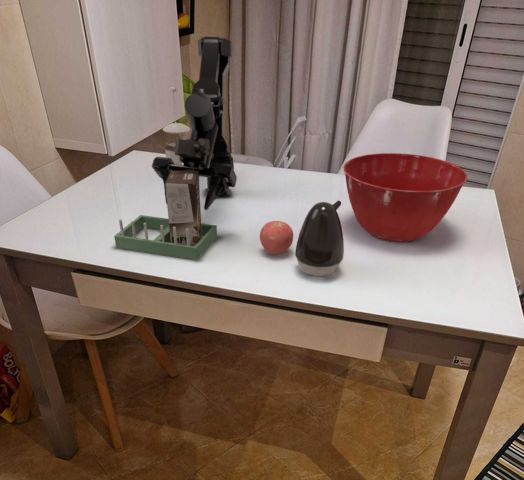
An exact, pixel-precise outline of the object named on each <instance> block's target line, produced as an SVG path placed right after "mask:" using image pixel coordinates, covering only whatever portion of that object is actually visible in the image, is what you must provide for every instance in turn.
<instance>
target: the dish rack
mask: <svg viewBox="0 0 524 480" xmlns="http://www.w3.org/2000/svg"><path fill="white" fill-rule="evenodd" d="M118 223H119V230H120V231H119V232H117V233H115V235H114V236H113V238H114V243H115V249H119V250H120V249H121V250H127V251H134V252H141V253H148V254H153V255H160V256H165V257H173V258H181V259H186V260H192V261H198V260H199V259H200V258H202V256H203V255H204V253H205V252H206V251H207V250H208V249H209V248H210V246H211V245H212V244H213V243H214V242H215V240H216V239H217V238H218V225H217V224H209V223H204V222H203V223H202V222H201V223H202V239H201V240H200V241H199V242H198V243H197V244H196V245H195V246H190V242H189V229H186V239H187V245H182V244H177V236H176V227H173V234H174V243H171V240H170V230H169V219H168V218H165V217H158V216H152V215H143V214H140V215H138V216H137V217H136V218H135V219H133V220H131V221H130V222H129V223H128V224H127V225H126V226H123V219H121V218H119V219H118ZM143 229H144V238H142V237H137V234H138V233H139V232H140V231H142V230H143ZM148 229H150V230H155V231H156V230H157V231H160V233H159V234H158V235H157V236H156V237H155V238H154V239H149V232H148Z"/></svg>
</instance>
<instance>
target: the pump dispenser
mask: <svg viewBox="0 0 524 480" xmlns="http://www.w3.org/2000/svg"><path fill="white" fill-rule="evenodd" d="M341 205H342V201H341V200H337V201H335V202H334V203H333V204H332V203H330V202H327V201H320V202H317V203H315V204H314V205H312V206H311V208H310V209H309V210H308V212H307V214H306V216H305V218H304V220H303V222H302V225H301V227H300V231H299V234H298V237H297V241H296V245H295V252H294V254H295V258H296V259H297V260H296V261H297V264H298V266H299V267H300V269H301V271H303V272H304V273H305V274H307V275H310V276H313V277H326V276H329V275H331V274H333V273H334V272H336V270H337V269H338V268H339V267H340V265H341V262H342V261H343V259H344V256H345V255H344V254H345V253H344V252H345V245H344V244H345V243H344V232H343V227H342V223H341V218H340V216H339V213H338V211H337V210H338V209H339V208H340V206H341Z"/></svg>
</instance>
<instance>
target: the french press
mask: <svg viewBox="0 0 524 480" xmlns="http://www.w3.org/2000/svg"><path fill="white" fill-rule="evenodd" d="M169 91H170V92H171V93H172V98H173V99H172V100H175V92H176V93H177V92H178V91H177V88H176V87H175V86H170V88H169ZM175 103H176V102H175V101H173V110H174V112H176V105H175ZM190 130H191V127H190V126H187V125H186V124H184V123H181V122H177V117H176V113H174V122H172V123H170V124H167V125H165V126H164V127H163V128H162V131H163V132H164V133H166V134H169V135H170V134H171V135H176V136H179V137H180V139H183V136H184V135H185V140H187V139H188V137H187V133H188V132H190ZM175 145H176V139H172V140H171V139H170V140H168V141H166V142H165V146H166V147H165V148H164V151H165V157H166V158H171V159H172V161H173V162H174V164H175V165H183V164H184V163H183V162H181V161H180V160H179V158H180V156H179V155H175Z"/></svg>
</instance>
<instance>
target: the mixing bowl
mask: <svg viewBox="0 0 524 480" xmlns="http://www.w3.org/2000/svg"><path fill="white" fill-rule="evenodd" d="M343 172H344V175H345V184H346V189H347V190H346V191H347V194H348V200H349V203H350V206H351V208H352V211H353V214H354V216H355V218H356V221H357V222H358V225H359V226H360V227H361V228H362V229H363V230H365V232H367V233H368V234H369V235H371V236H372V237H374V238H377V239H379V240H382V241H386V242H393V243H408V242H412V241H416V240H418V239H420V238H422V237H424V236H426V235H428V234H429V233H431V231H433V230H434V229H435V228H436V227H437V225H439V224H440V223H441V221H442V220H443V219H444V217H445V216H446V214H447V213H448V212H449V211H450V209H451V207H452V206H453V204H454V203H455V201H456V199H457V197H458V195H459V193H460V192H461V190H462V188H463V186H464V184H465V183H466V182H467V180H468V174H467V173H466V171H465V170H464V169H463V168H461V167H460V166H458V165H456V164H455V163H452V162H449V161H446V160H444V159H439V158H437V157H433V156H432V157H431V156H426V155H420V154H414V153H413V154H412V153H401V152H400V153H399V152H383V153H381V152H380V153H370V154H364V155H363V154H362V155H359V156H356V157H353V158H350V159H348V160H347V161H346V162H345V163H344V165H343Z"/></svg>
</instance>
